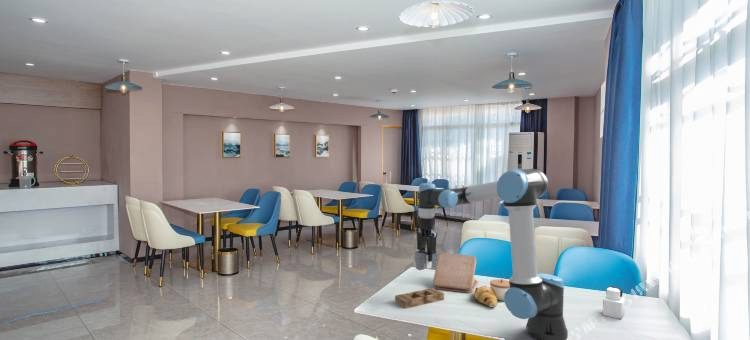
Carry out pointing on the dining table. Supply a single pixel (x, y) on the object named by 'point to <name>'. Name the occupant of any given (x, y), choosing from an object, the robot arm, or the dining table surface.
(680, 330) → the dining table surface
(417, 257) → the grey bridge block
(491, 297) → the croissant
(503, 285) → the lidded jar
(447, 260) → the case
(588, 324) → the dining table surface
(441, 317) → the dining table surface
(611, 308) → the medicine bottle
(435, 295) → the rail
